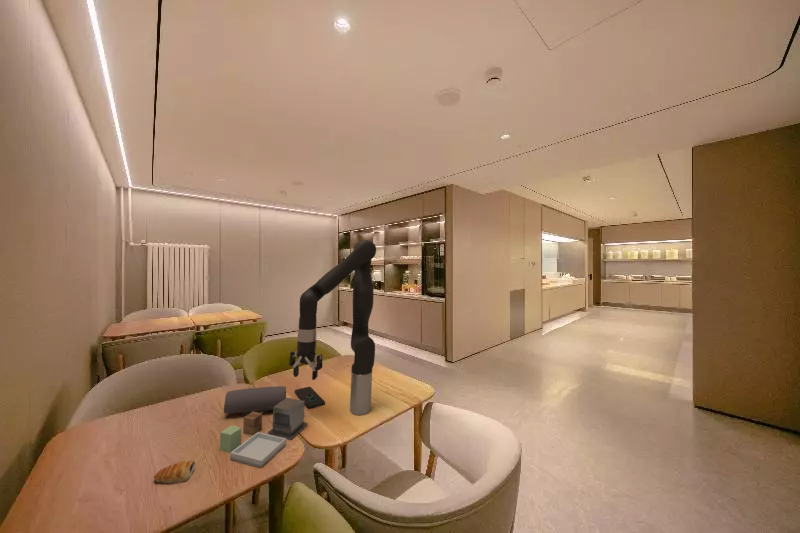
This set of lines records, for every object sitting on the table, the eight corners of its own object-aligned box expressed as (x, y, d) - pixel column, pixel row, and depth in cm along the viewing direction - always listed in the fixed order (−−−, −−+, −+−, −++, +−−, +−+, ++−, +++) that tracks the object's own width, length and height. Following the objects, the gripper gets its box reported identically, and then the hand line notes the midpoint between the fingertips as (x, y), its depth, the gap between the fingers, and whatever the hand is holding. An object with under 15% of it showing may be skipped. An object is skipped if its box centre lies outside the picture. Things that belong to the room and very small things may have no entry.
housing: (285, 420, 115) (286, 396, 115) (307, 425, 113) (308, 400, 112) (268, 434, 105) (269, 407, 105) (291, 440, 103) (292, 412, 103)
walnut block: (252, 427, 110) (252, 411, 110) (261, 429, 109) (262, 413, 109) (243, 433, 106) (243, 417, 106) (252, 435, 105) (253, 419, 105)
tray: (257, 438, 103) (257, 431, 103) (286, 445, 100) (286, 438, 100) (229, 459, 92) (230, 452, 92) (261, 468, 88) (261, 460, 88)
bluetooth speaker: (285, 403, 129) (286, 381, 129) (284, 413, 120) (285, 390, 120) (228, 409, 122) (229, 386, 122) (222, 421, 113) (223, 396, 113)
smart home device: (307, 406, 125) (293, 389, 140) (307, 410, 125) (293, 393, 140) (325, 401, 130) (310, 385, 145) (325, 405, 130) (310, 389, 145)
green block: (230, 442, 100) (231, 425, 100) (240, 444, 99) (241, 427, 99) (219, 449, 96) (220, 432, 96) (230, 452, 95) (230, 434, 95)
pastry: (149, 489, 79) (149, 475, 79) (160, 472, 85) (160, 459, 85) (189, 482, 82) (189, 468, 82) (197, 466, 89) (197, 454, 89)
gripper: (326, 338, 120) (325, 377, 120) (297, 335, 124) (295, 372, 124) (317, 343, 113) (315, 383, 113) (286, 339, 117) (284, 378, 117)
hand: (305, 377), depth 119 cm, fingers open, 8 cm apart
